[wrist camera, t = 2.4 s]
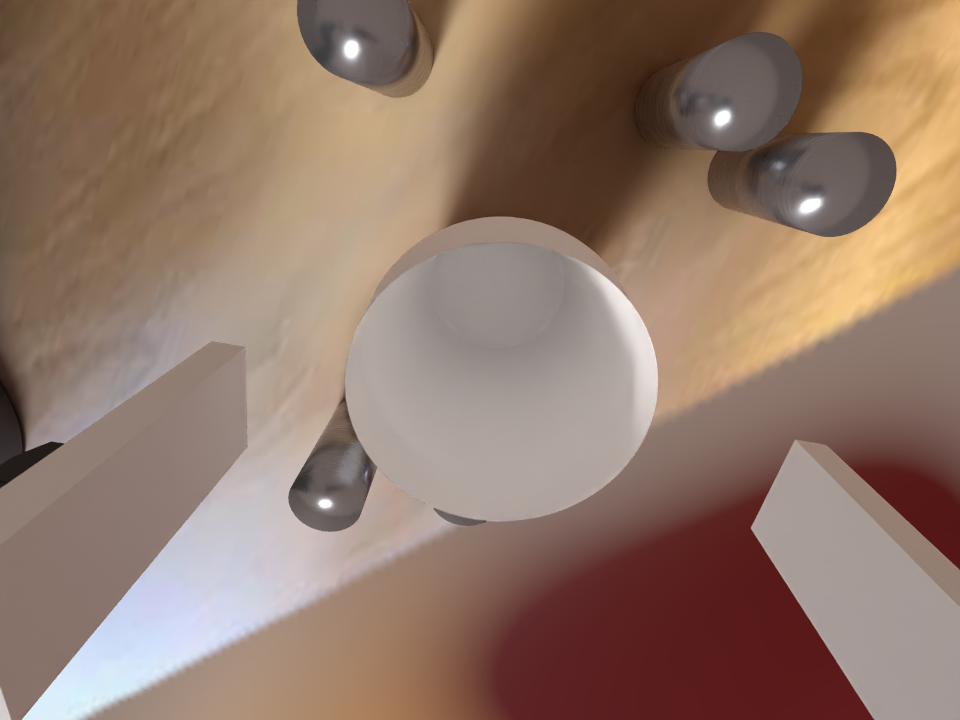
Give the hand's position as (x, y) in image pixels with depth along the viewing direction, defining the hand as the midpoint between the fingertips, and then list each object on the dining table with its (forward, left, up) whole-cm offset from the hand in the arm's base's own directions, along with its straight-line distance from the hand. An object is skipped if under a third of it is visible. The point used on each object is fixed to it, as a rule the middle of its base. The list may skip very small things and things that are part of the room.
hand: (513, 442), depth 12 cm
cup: (0, 0, -14) cm, 14 cm away
